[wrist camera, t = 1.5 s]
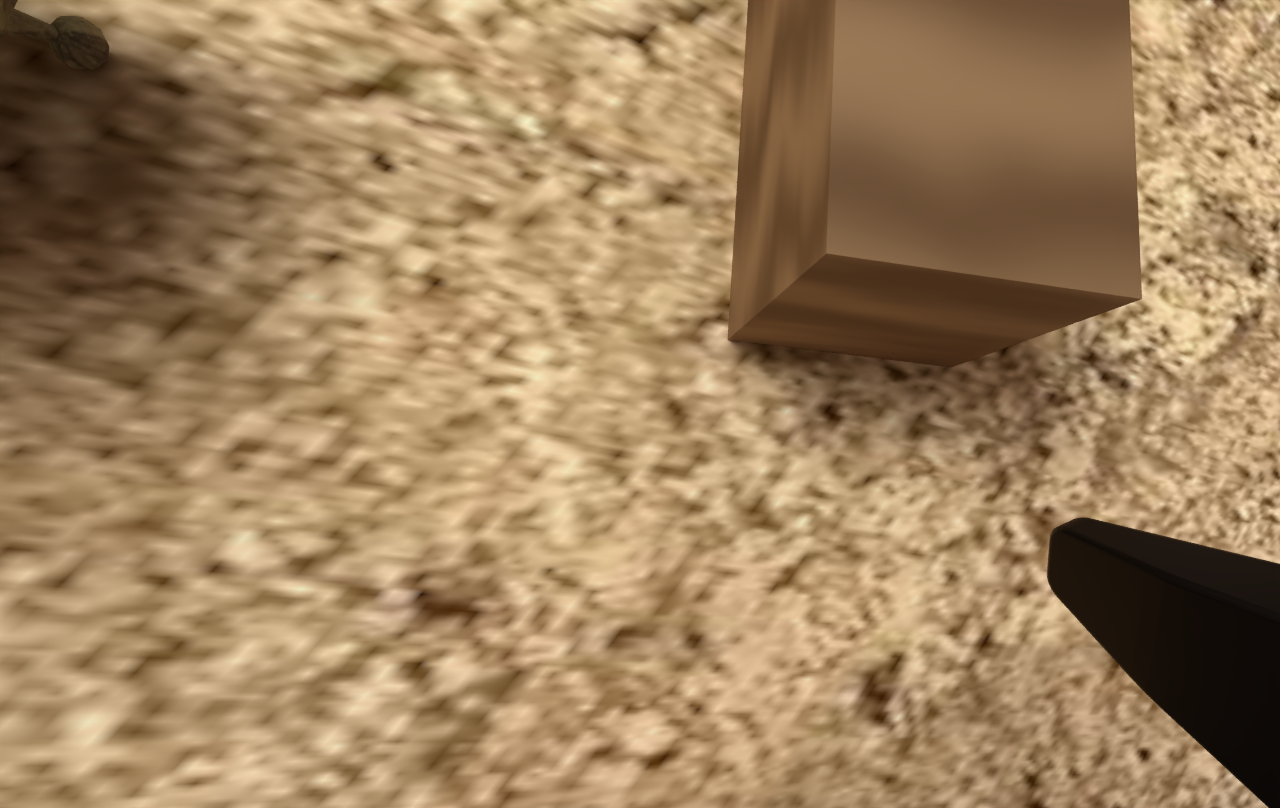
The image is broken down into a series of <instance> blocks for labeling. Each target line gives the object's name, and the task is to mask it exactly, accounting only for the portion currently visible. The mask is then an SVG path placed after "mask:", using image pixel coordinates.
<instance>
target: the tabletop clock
mask: <svg viewBox="0 0 1280 808" xmlns="http://www.w3.org/2000/svg"><path fill="white" fill-rule="evenodd" d="M16 2H17V0H0V36H1V34H2V32H5V33H9V34H14V35H18V36H22V37H27V38H31V39H36V40H40V41H45V42H48V43H49V45H50V47H51V49H52V51H53V53H54V54H55V56H56V57H57V58H59V59H60V60H62V61H63V62H65V63H66V64H68V65H70V66H71V67H73V68H75V69H97V68H98V67H99V66H100V65H102V64H103V63H104V62H105V61H106V60H107V59H108V51H109V45H108V43H107V41H106V39H105V37H104V35H103V33H102V31H101V30H100V29H99V28H97V27H96V26H94V25H93V24H91V23H90V22H88V21H87V20H85V19H84V18H82V17H78V16H60V17H58V18H57V19H56V20H55V21H54V22H53V23H51V24H48V23H45V22H43V21H41V20H38V19H36V18H34V17H32V16H29V15H27V14H25V13H22V12H20V11H18V10H16V9H14V6H15V4H16Z"/></svg>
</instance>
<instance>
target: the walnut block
mask: <svg viewBox="0 0 1280 808" xmlns="http://www.w3.org/2000/svg"><path fill="white" fill-rule="evenodd" d="M1140 299H1142V290H1141V267H1140V243H1139V220H1138V196H1137V173H1136V149H1135V126H1134V102H1133V79H1132V55H1131V32H1130V8H1129V0H748V13H747V29H746V46H745V62H744V79H743V95H742V112H741V128H740V145H739V161H738V178H737V194H736V211H735V227H734V244H733V260H732V277H731V293H730V310H729V326H728V340H734V341H742V342H750V343H759V344H767V345H775V346H783V347H791V348H799V349H807V350H815V351H824V352H832V353H840V354H848V355H856V356H864V357H872V358H880V359H888V360H897V361H905V362H913V363H921V364H929V365H937V366H945V367H953V366H956V365H959V364H962V363H964V362H967V361H970V360H973V359H976V358H978V357H981V356H984V355H987V354H990V353H992V352H995V351H998V350H1001V349H1003V348H1006V347H1009V346H1012V345H1015V344H1017V343H1020V342H1023V341H1026V340H1029V339H1031V338H1034V337H1037V336H1040V335H1043V334H1045V333H1048V332H1051V331H1054V330H1057V329H1059V328H1062V327H1065V326H1068V325H1071V324H1073V323H1076V322H1079V321H1082V320H1084V319H1087V318H1090V317H1093V316H1096V315H1098V314H1101V313H1104V312H1107V311H1110V310H1112V309H1115V308H1118V307H1121V306H1124V305H1126V304H1129V303H1132V302H1135V301H1138V300H1140Z"/></svg>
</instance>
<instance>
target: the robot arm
mask: <svg viewBox="0 0 1280 808" xmlns="http://www.w3.org/2000/svg"><path fill="white" fill-rule="evenodd" d="M1047 578H1048V582H1049V585H1050V587H1051V589H1052V590H1053V592H1054V593H1055V595H1056V596H1057V597H1058V598H1059V599H1060V601H1061V602H1062V603H1063V604H1064V605H1065V606H1066V607H1067V608H1068V609H1069V610H1070V612H1071V613H1072V614H1073V615H1074V616H1075V617H1076V618H1077V619H1078V620H1079V621H1080V623H1081V624H1082V625H1083V626H1084V627H1085V628H1086V629H1087V630H1088V631H1089V632H1090V634H1091V635H1092V636H1093V637H1094V638H1095V639H1096V640H1097V641H1098V642H1099V643H1100V645H1101V646H1102V647H1103V648H1104V649H1105V650H1106V651H1107V652H1108V653H1109V654H1110V656H1111V657H1112V658H1113V659H1114V660H1115V661H1116V662H1117V663H1118V664H1119V665H1120V666H1121V668H1122V669H1123V670H1124V671H1125V672H1126V673H1127V674H1128V675H1129V676H1130V677H1131V678H1132V680H1133V681H1134V682H1135V683H1136V684H1137V685H1138V686H1139V687H1140V688H1141V689H1142V690H1143V691H1144V692H1145V693H1146V694H1147V695H1148V696H1149V697H1150V698H1151V699H1152V700H1153V701H1154V702H1155V703H1156V704H1157V705H1158V706H1159V707H1160V708H1162V709H1163V710H1164V711H1165V712H1166V713H1167V714H1168V715H1169V716H1170V717H1171V718H1172V719H1173V720H1174V721H1176V722H1177V723H1178V724H1179V725H1180V726H1181V727H1182V728H1183V729H1184V730H1185V731H1186V732H1187V733H1189V734H1190V735H1191V736H1192V737H1193V738H1194V739H1195V740H1196V741H1197V742H1198V743H1199V744H1200V745H1202V746H1203V747H1204V748H1205V749H1206V750H1207V751H1208V752H1209V753H1210V754H1211V755H1212V756H1213V757H1214V758H1216V759H1217V760H1218V761H1219V762H1220V763H1221V764H1222V765H1223V766H1224V767H1225V768H1226V769H1227V770H1229V771H1230V772H1231V773H1232V774H1233V775H1234V776H1235V777H1236V778H1237V779H1238V780H1239V781H1240V782H1242V783H1243V784H1244V785H1245V786H1246V787H1247V788H1248V789H1249V790H1250V791H1251V792H1252V793H1253V794H1255V795H1256V796H1257V797H1258V798H1259V799H1260V800H1261V801H1262V802H1263V803H1264V804H1265V805H1266V806H1267V807H1269V808H1280V564H1278V563H1274V562H1270V561H1266V560H1262V559H1257V558H1253V557H1249V556H1245V555H1241V554H1237V553H1232V552H1228V551H1224V550H1220V549H1216V548H1212V547H1207V546H1203V545H1199V544H1195V543H1191V542H1187V541H1182V540H1178V539H1174V538H1170V537H1166V536H1162V535H1157V534H1153V533H1149V532H1145V531H1141V530H1137V529H1132V528H1128V527H1124V526H1120V525H1116V524H1111V523H1107V522H1103V521H1099V520H1095V519H1090V518H1076V519H1073V520H1071V521H1069V522H1067V523H1065V524H1062V525H1060V526H1058V527H1056V528H1055V529H1053V531H1052V532H1051V534H1050V540H1049V554H1048V567H1047Z"/></svg>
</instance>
